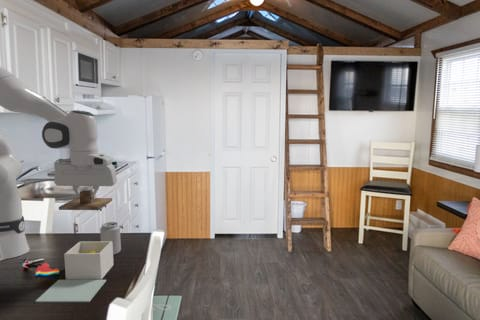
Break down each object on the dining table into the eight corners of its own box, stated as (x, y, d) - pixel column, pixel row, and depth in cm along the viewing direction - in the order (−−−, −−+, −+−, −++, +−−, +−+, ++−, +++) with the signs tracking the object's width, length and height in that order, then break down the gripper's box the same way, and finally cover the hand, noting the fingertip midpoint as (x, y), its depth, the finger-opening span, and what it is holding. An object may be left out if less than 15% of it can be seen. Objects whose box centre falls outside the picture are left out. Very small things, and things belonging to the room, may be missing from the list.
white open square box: (65, 279, 124) (64, 254, 123) (81, 264, 136) (79, 241, 135) (101, 279, 124) (100, 253, 123) (113, 264, 136) (112, 241, 135)
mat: (35, 302, 109) (35, 301, 109) (58, 280, 123) (58, 279, 123) (89, 302, 109) (89, 300, 109) (106, 280, 123) (106, 279, 123)
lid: (58, 209, 120) (58, 195, 120) (76, 200, 133) (75, 187, 133) (98, 210, 120) (97, 195, 120) (112, 200, 133) (111, 187, 133)
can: (124, 249, 151) (122, 221, 150) (116, 256, 144) (114, 227, 142) (106, 249, 152) (105, 220, 150) (97, 256, 144) (96, 226, 143)
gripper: (49, 159, 122) (51, 200, 123) (111, 160, 122) (112, 200, 123) (58, 157, 128) (60, 196, 130) (117, 157, 128) (118, 196, 130)
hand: (86, 198), depth 127 cm, fingers closed on lid, 3 cm apart
